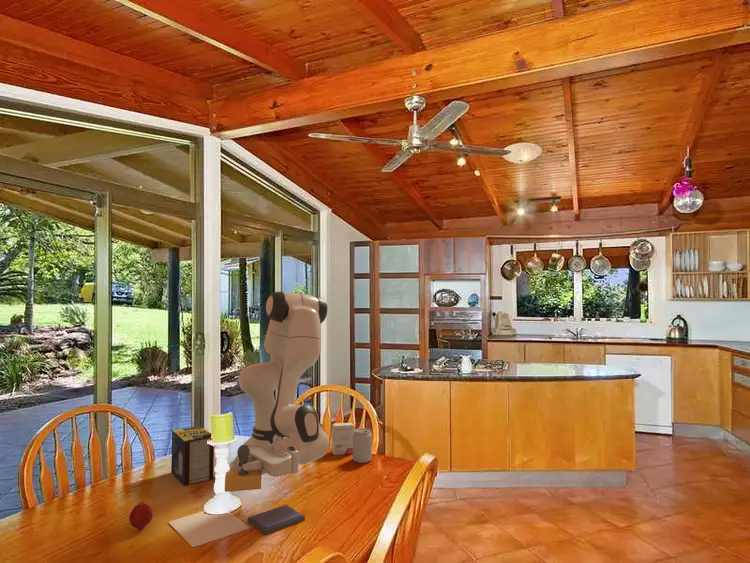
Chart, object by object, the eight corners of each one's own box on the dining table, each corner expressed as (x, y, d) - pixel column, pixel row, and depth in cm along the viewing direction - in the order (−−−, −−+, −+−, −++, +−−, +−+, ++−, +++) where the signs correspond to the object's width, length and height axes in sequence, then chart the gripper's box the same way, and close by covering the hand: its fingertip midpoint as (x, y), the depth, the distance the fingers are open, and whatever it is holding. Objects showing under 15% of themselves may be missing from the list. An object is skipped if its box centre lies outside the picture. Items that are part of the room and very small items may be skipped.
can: (369, 464, 189) (369, 433, 189) (350, 462, 190) (350, 431, 191) (373, 458, 196) (373, 428, 197) (355, 456, 198) (355, 426, 198)
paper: (167, 522, 140) (167, 521, 140) (221, 506, 151) (221, 505, 151) (193, 548, 127) (193, 547, 127) (249, 528, 137) (249, 527, 137)
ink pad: (247, 521, 141) (247, 516, 141) (286, 508, 150) (286, 503, 150) (265, 534, 134) (265, 529, 134) (304, 520, 143) (304, 515, 143)
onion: (127, 535, 132) (127, 506, 132) (131, 525, 138) (132, 497, 138) (150, 533, 134) (151, 503, 134) (153, 523, 140) (154, 495, 140)
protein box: (199, 466, 184) (200, 425, 184) (213, 479, 172) (214, 435, 172) (170, 472, 178) (171, 429, 178) (183, 486, 166) (184, 440, 166)
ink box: (351, 450, 206) (352, 421, 206) (354, 454, 201) (354, 425, 201) (331, 451, 204) (332, 422, 204) (333, 455, 199) (334, 426, 199)
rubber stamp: (224, 492, 137) (225, 449, 137) (225, 484, 142) (226, 442, 142) (261, 489, 139) (261, 446, 139) (260, 481, 145) (261, 440, 145)
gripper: (264, 436, 157) (223, 445, 148) (301, 452, 142) (258, 463, 133) (264, 456, 157) (223, 466, 148) (300, 474, 142) (258, 487, 133)
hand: (240, 465), depth 140 cm, fingers closed on rubber stamp
